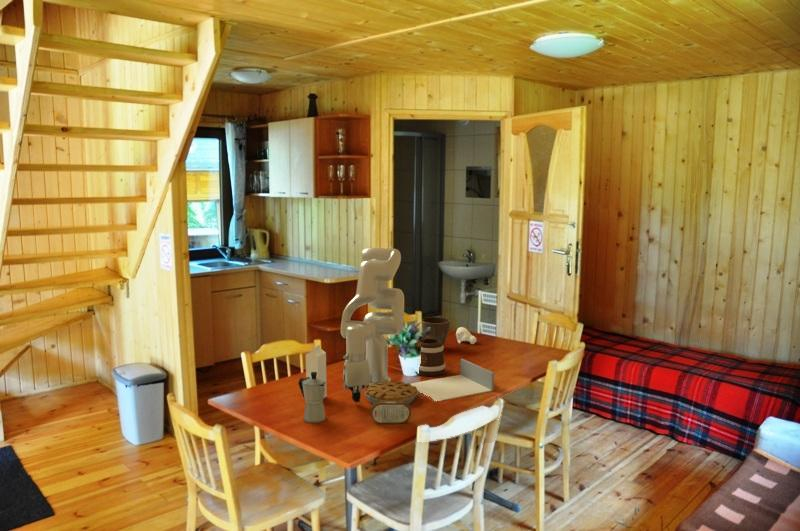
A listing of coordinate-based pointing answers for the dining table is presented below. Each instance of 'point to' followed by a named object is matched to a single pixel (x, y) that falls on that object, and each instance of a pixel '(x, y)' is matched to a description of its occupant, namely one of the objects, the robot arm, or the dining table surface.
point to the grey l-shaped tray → (458, 383)
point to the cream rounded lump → (464, 335)
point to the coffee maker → (313, 398)
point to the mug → (432, 358)
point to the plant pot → (437, 328)
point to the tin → (390, 411)
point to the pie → (391, 392)
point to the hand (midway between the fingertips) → (356, 401)
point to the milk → (316, 364)
